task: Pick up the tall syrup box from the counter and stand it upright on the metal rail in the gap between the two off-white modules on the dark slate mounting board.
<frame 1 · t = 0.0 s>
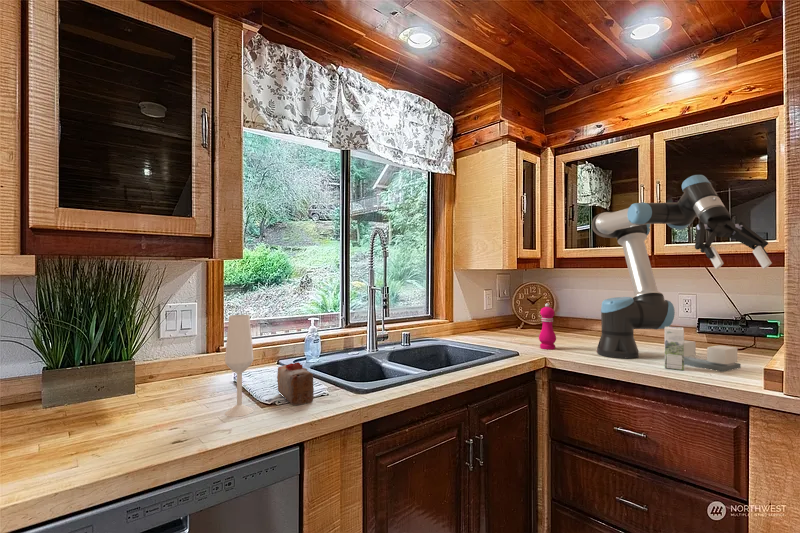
hand: (743, 266, 120), 36 cm above the table, tool tilted 35°, fingers open, 13 cm apart
food item: (295, 398, 114), on the table
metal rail: (701, 358, 151), on the mounting board, point 1 cm above the table
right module: (722, 354, 145), on the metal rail, point 5 cm above the table
champagne flute: (239, 412, 102), on the table
mounting board: (701, 364, 151), on the table
syrup box: (674, 368, 145), on the table
left module: (681, 347, 157), on the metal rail, point 5 cm above the table
pepper mill: (547, 348, 182), on the table
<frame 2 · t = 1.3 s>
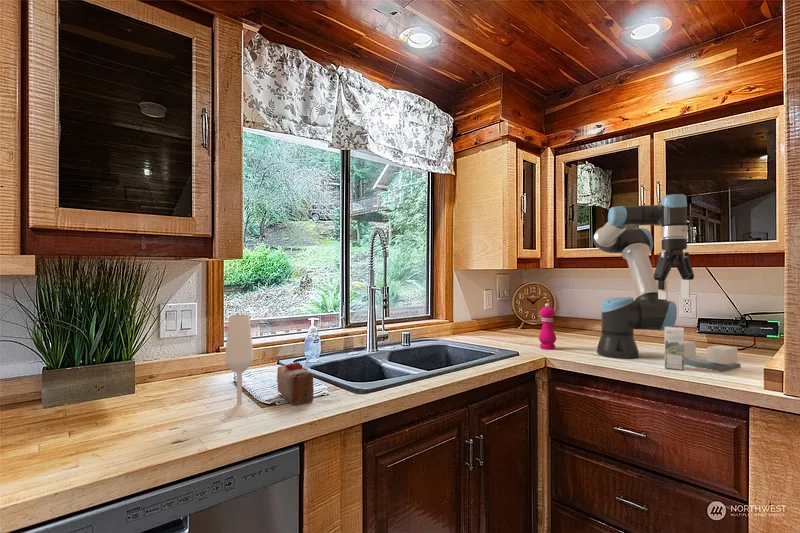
hand: (674, 298, 145), 25 cm above the table, tool pointing down, fingers open, 13 cm apart
nothing on the table moved.
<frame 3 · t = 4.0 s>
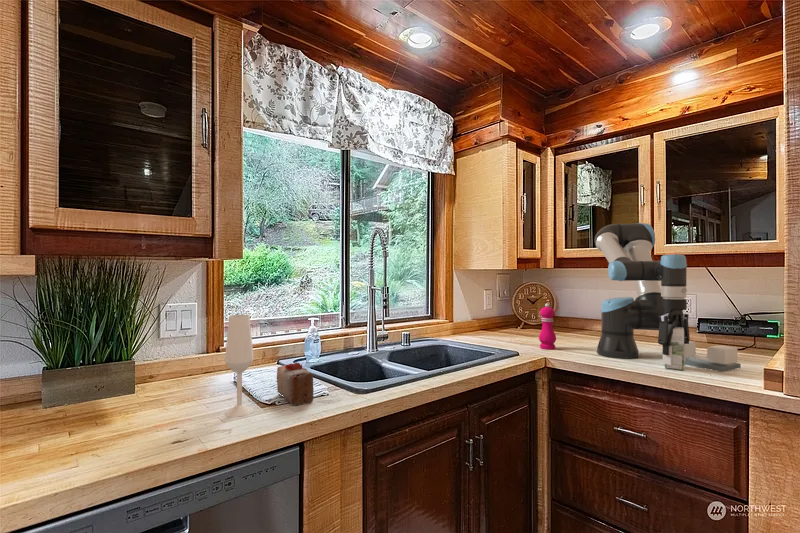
hand: (674, 362, 145), 2 cm above the table, tool pointing down, fingers closed on syrup box, 7 cm apart
syrup box: (674, 368, 145), on the table, touching gripper
everything else where it was.
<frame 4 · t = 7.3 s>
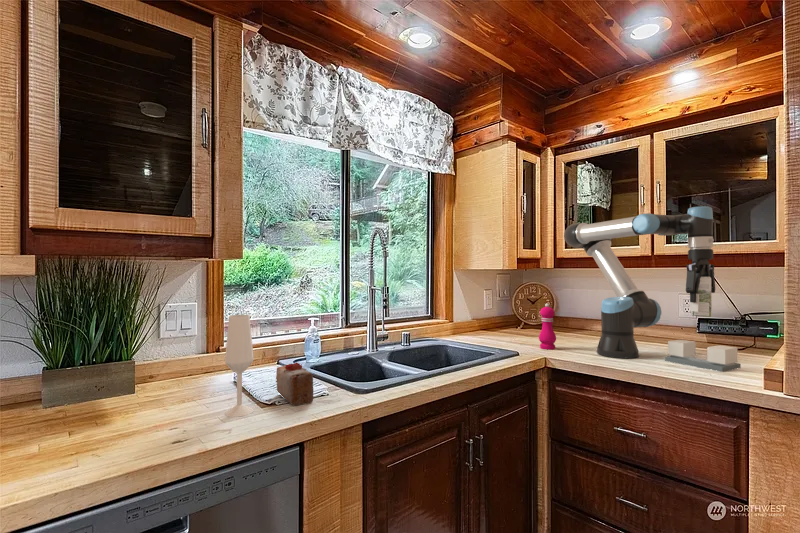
hand: (700, 310, 151), 20 cm above the table, tool pointing down, fingers closed on syrup box, 7 cm apart
syrup box: (701, 316, 151), point 18 cm above the table, touching gripper
everything else where it was.
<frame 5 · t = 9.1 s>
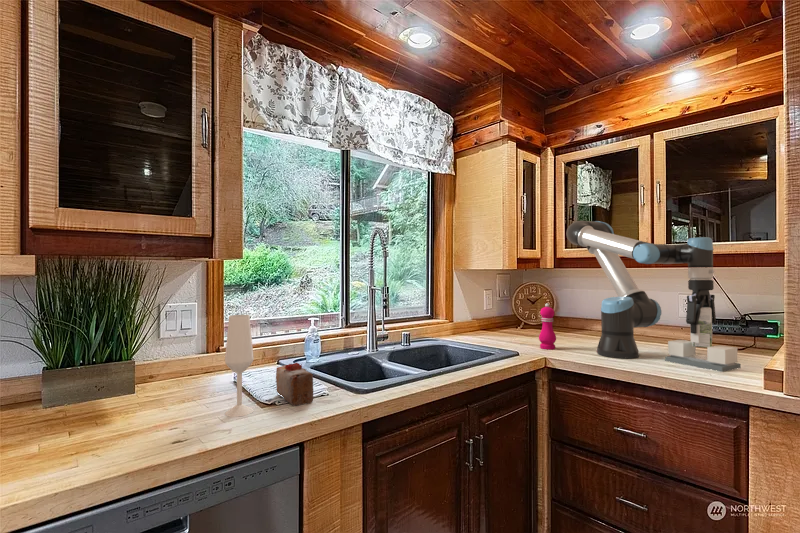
hand: (701, 341, 151), 8 cm above the table, tool pointing down, fingers closed on syrup box, 7 cm apart
syrup box: (701, 347, 151), point 6 cm above the table, touching gripper
everything else where it was.
when the fingers open (6 cm above the table, at t = 10.5 s): syrup box drops 1 cm, resting on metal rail.
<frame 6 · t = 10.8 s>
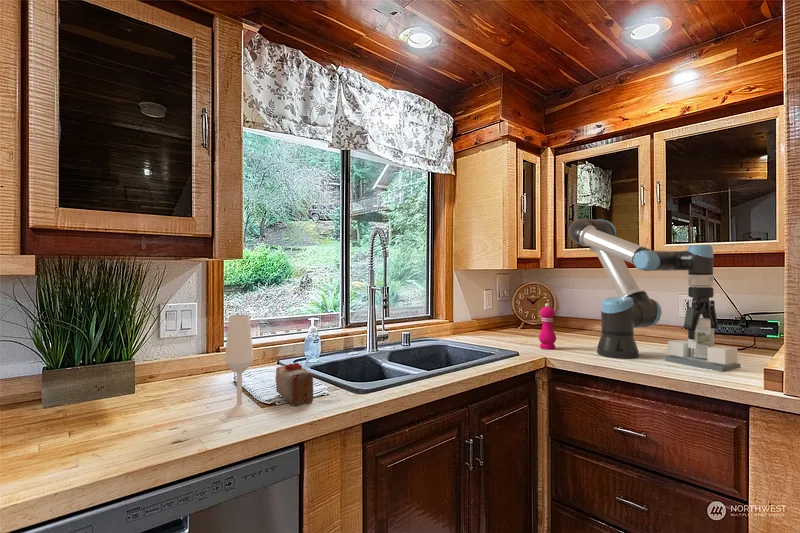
hand: (701, 346, 151), 6 cm above the table, tool pointing down, fingers open, 10 cm apart
syrup box: (701, 358, 151), point 2 cm above the table, touching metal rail
everything else where it was.
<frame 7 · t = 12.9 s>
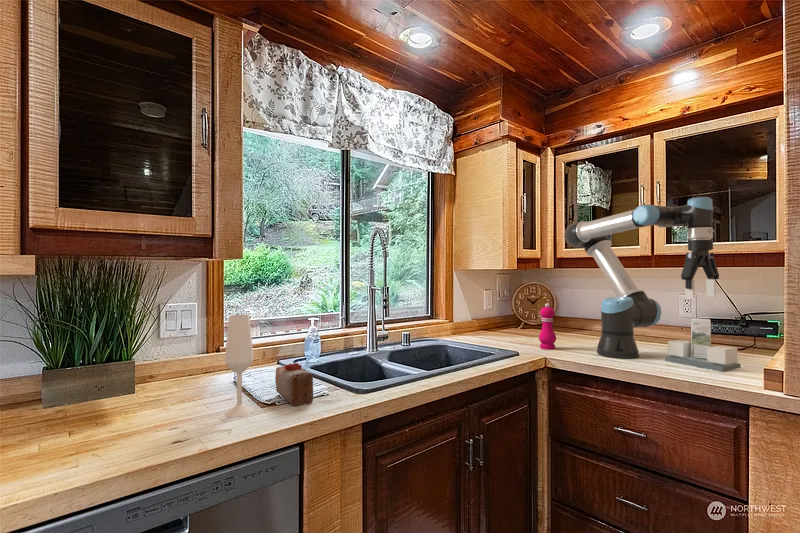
hand: (700, 297, 151), 25 cm above the table, tool pointing down, fingers open, 13 cm apart
nothing on the table moved.
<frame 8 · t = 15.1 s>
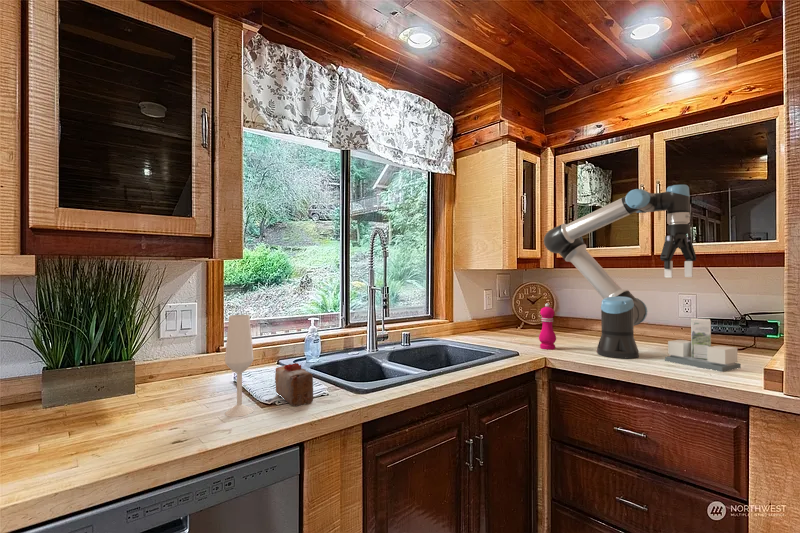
hand: (678, 277, 164), 32 cm above the table, tool pointing down, fingers open, 13 cm apart
nothing on the table moved.
at the end: syrup box 0.3 cm off-centre on the mounting board, point 2.1 cm above the mounting board's base; syrup box tilted 0°; the gripper is holding nothing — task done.
